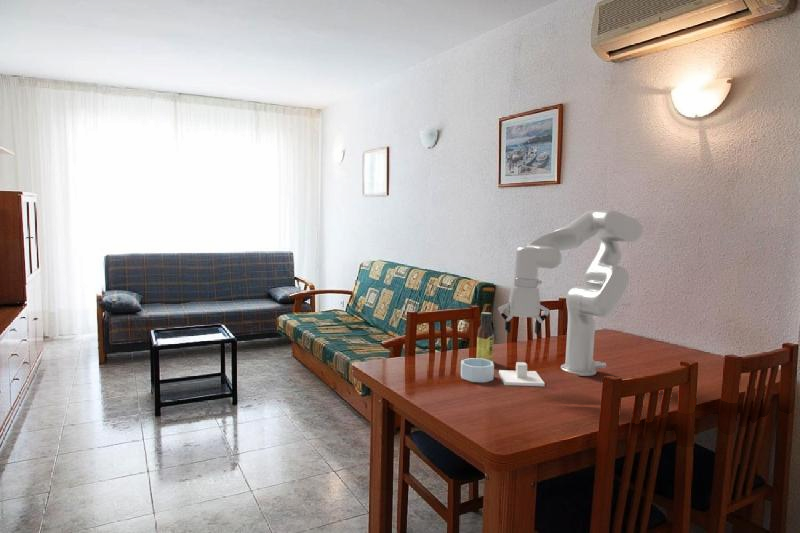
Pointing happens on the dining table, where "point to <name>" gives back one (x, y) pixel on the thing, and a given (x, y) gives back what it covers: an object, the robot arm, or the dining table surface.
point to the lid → (521, 376)
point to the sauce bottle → (485, 338)
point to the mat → (517, 385)
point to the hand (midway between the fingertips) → (522, 332)
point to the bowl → (477, 370)
